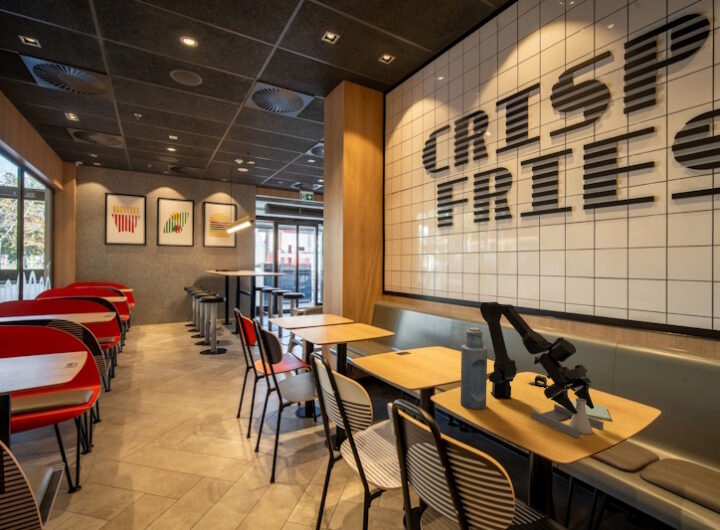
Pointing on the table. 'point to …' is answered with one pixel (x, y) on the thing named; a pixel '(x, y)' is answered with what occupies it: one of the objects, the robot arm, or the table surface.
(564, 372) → the robot arm
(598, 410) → the pad
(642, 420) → the table surface
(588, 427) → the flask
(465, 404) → the bottle
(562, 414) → the trough
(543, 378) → the black arched bracket
